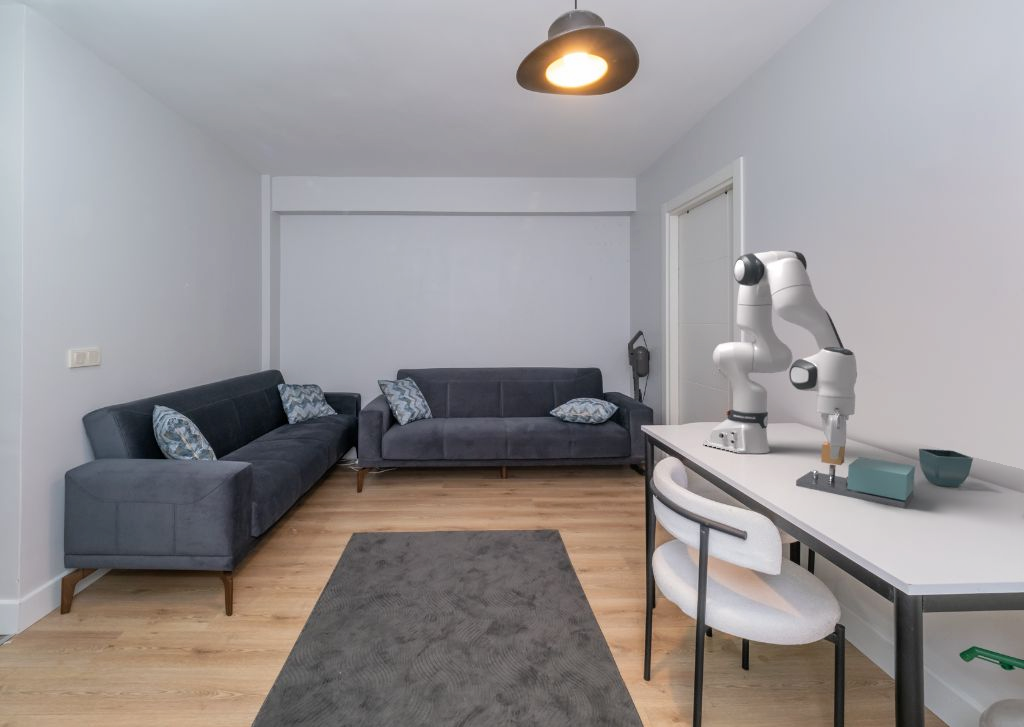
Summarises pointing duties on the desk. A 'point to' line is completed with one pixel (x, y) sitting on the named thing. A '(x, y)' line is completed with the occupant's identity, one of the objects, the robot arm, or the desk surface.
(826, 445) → the hollow square tube
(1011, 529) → the desk surface
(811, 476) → the housing base
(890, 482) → the cover
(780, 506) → the desk surface
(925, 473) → the flower pot
